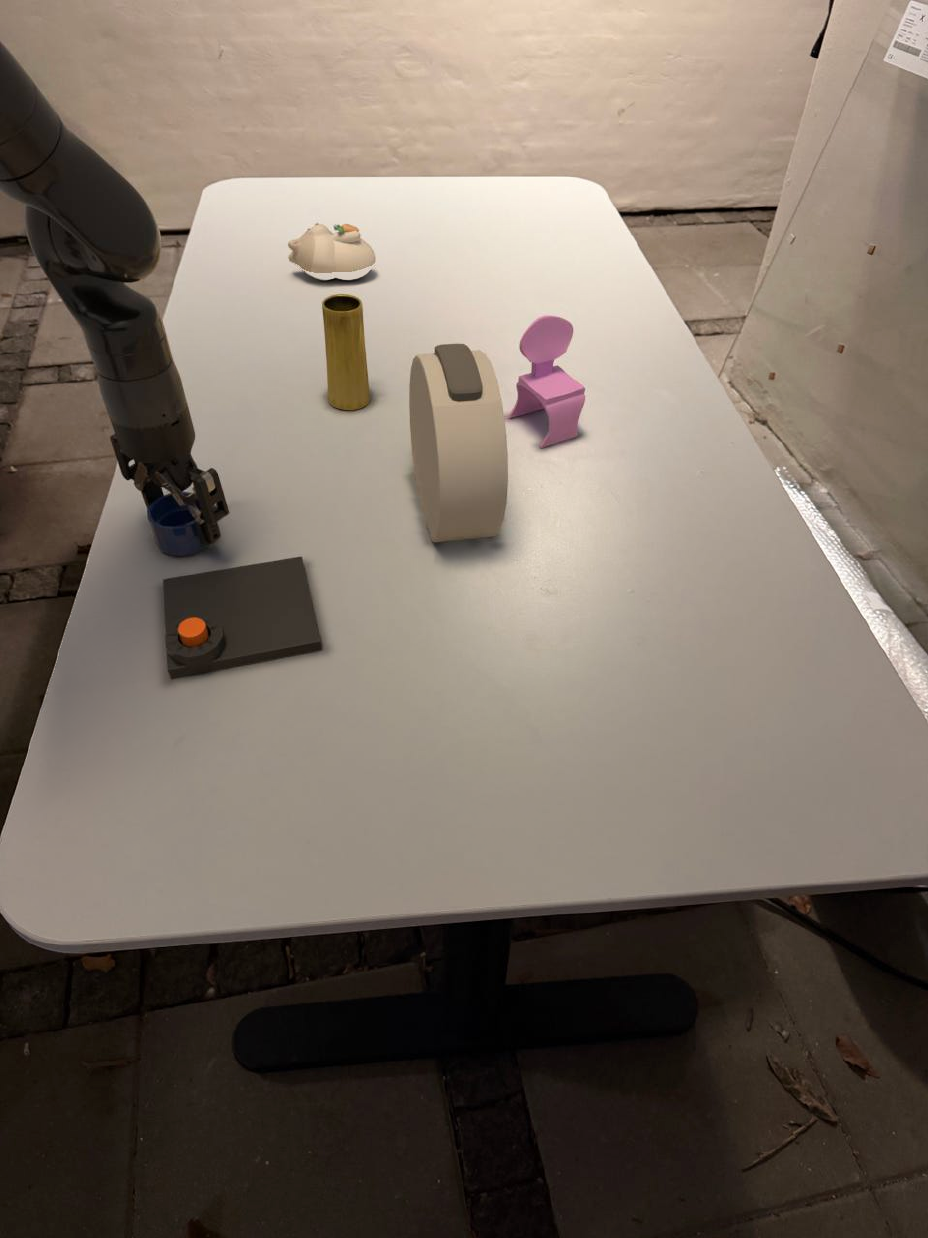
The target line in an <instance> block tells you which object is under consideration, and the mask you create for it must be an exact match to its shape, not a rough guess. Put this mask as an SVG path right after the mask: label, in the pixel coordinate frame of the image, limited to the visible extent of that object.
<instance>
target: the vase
mask: <svg viewBox="0 0 928 1238" xmlns="http://www.w3.org/2000/svg"><path fill="white" fill-rule="evenodd" d="M321 311H322V321H323V332H324V344H325V359H326V380H327V401H328V403H329V404H330V406H332V407H333V408H335V409H337V410H342V411H355V410H360V409H363V408H365V407H367V406H368V404H370V402H371V400H372V399H371V393H370V382H369V372H368V371H369V370H368V361H367V360H368V359H367V349H366V339H365V337H366V336H365V324H364V322H365V321H364V307H363V302H362V300H361V299H360V298H359V297H358V296H355V295H353V294H348V293H347V294H346V293H338V294H331V295H329V296H327V297H325V298H324V299H323V300H322V302H321Z"/></svg>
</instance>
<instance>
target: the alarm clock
mask: <svg viewBox="0 0 928 1238" xmlns="http://www.w3.org/2000/svg"><path fill="white" fill-rule="evenodd" d="M409 374H410V375H409V387H408V388H409V390H408V391H409V394H408V404H409V405H408V411H409V431H410V432H409V433H410V444H411V445H410V447H411V456H412V465H413V474H414V479H415V482H416V486H417V490H418V494H419V498H420V501H421V506H422V509H423V514H424V517H425V521H426V525H427V529H428V533H429V536H430V540H431V542H433V543H443V542H452V541H462V540H471V539H478V538H479V539H480V538H490V537H491V538H492V537H495V536H496V535H498V533H500V531H501V529H502V526H503V523H504V520H505V513H506V509H507V503H508V502H507V501H508V499H507V498H508V488H509V487H508V485H509V484H508V483H509V458H508V457H509V456H508V454H509V453H508V441H507V428H506V427H507V426H506V421H505V414H504V413H505V412H504V407H503V406H504V405H503V401H502V396H501V391H500V388H499V387H500V386H499V381H498V379H497V375H496V373H495V370H494V367H493V363H492V362H491V359H490V358H489V357H488V355H487V353H485V352H484V351H482V350H480V349H478V350H477V349H475V350H471V349H470V347H469V346H468V345H466V344H464V343H446V344H445V343H444V344H438V345H436V346H434V352H430V353H417V354H416V355H415V356H414V357H413V358H412V361H411V366H410V373H409Z"/></svg>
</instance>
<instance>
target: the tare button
mask: <svg viewBox="0 0 928 1238" xmlns="http://www.w3.org/2000/svg"><path fill="white" fill-rule="evenodd" d="M178 632H179V635H180V638H181V641H182V643H183V644H184V645H185V646H188V647H197V646H200V645H202V644H204V643H205V642H206V641H207V639H208V631H207V628H206V625H205V622H204V621H203V620H202V619H200V618H188V619H186V620H184V621H182V622H181V623H180V625H179V627H178Z"/></svg>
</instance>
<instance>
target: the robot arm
mask: <svg viewBox="0 0 928 1238" xmlns="http://www.w3.org/2000/svg"><path fill="white" fill-rule="evenodd" d="M0 193H2V194H3V195H4V196H5V197H8V198H10V199H11V200H14V201H15V202H18V203H20V204H23V205H24V226H25V232H26V236H27V240H28V243H29V246H30V248H31V251H32V253H33V255H34V257H35V259H36V261H37V262H38V265H39V266H40V268H41V270H42V272H43V273H44V275H45V276H46V278H47V279H48V281H49V282H50V284H51V286H52V287H53V289H54V290H55V292H56V293H57V295H58V297H59V298H60V299H61V302H62V303H63V304H64V306H65V307H66V309H67V311H68V312H69V313H70V315H71V316H72V318H73V319H74V320H75V321H76V324H78V326H79V327H80V329H81V331H82V335H83V338H84V341H85V343H86V347H87V349H88V353H89V356H90V358H91V360H92V363H93V366H94V369H95V373H96V377H97V382H98V387H99V391H100V395H101V398H102V401H103V403H104V406H105V410H106V411H107V415H108V417H109V420H110V424H111V426H112V429H113V432H114V433H113V434H112V435H111V436H110V437H109V439H110V442H111V445H112V449H113V453H114V455H115V458H116V461H117V464H118V467H119V470H120V474H121V476H122V477H123V478H124V479H125V480H126V481H130V480H132V481H133V486H134V487H135V488H136V490H137V491H139V492H140V494H141V496H142V499H143V501H144V504H145V508H146V511H147V510H148V508H149V506H150V505H151V503H152V502H154V501H155V500H156V499H158V498H159V497H161V496H164V495H165V494H164V491H163V489H165V490H167V492H169V493H171V494H172V496H173V497H174V498H175V500H176V501H177V503H178V504H179V505H180V506H181V507H186V508H187V509H188V510H189V512H190V513H191V515H192V516H193V517H194V519H195V524H196V527H197V531H198V534H199V537H200V541H201V544H203V545H204V546H206V547H205V548H209V547H210V546H212V545H213V544H215V543H216V542H218V541H219V539H221V537H222V536H221V535H222V534H221V531H220V526H219V522H220V521H221V520H222V519H224V518H225V517H227V516H229V514H230V510H229V506H228V502H227V499H226V496H225V491H224V488H223V486H222V483H221V482H222V481H221V479H220V476H219V473H218V471H217V469H214V467H210V468H209V469H207V470H203V469H201V468H198V465H197V463H196V461H195V459H194V457H193V456H192V449H193V446H194V444H195V441H196V431H195V427H194V423H193V420H192V415H191V412H190V407H189V404H188V401H187V397H186V394H185V389H184V386H183V381H182V378H181V375H180V372H179V370H178V368H177V365H176V363H175V361H174V358H173V354H172V350H171V347H170V343H169V339H168V336H167V335H168V334H167V332H166V328H165V325H164V321H163V318H162V315H161V312H160V309H159V308H158V306H157V305H156V303H155V302H154V301H153V300H152V299H151V298H149V297H148V296H146V295H145V294H144V293H141V292H140V291H137V290H135V289H134V288H132V287H130V286H129V285H127V284H128V283H129V284H130V283H131V284H132V283H137V282H141V281H143V280H145V279H147V278H148V277H149V276H150V275H151V274H153V272H154V271H155V270H156V268H157V267H158V264H159V262H160V260H161V255H162V237H161V232H160V228H159V225H158V222H157V220H156V217H155V215H154V212H153V211H152V208H150V206H149V204H148V202H147V201H146V200H145V198H144V197H143V196H142V195H141V194H140V192H139V191H138V190H137V188H135V187H134V186H133V184H132V183H130V182H129V181H128V180H127V179H126V178H125V176H124V175H122V174H121V173H120V172H119V171H118V170H117V169H116V168H114V167H113V166H112V165H111V164H110V163H109V162H108V161H107V160H105V158H103V157H102V156H101V155H100V154H99V153H98V152H97V151H96V150H95V149H94V148H92V147H91V146H90V145H88V144H87V143H86V142H85V141H84V140H82V139H81V138H80V137H78V135H76V134H75V133H74V132H73V131H71V130H70V128H69V127H68V126H67V125H66V123H65V122H64V120H63V119H62V118H61V116H60V115H59V114H58V112H57V111H56V109H55V108H54V107H53V105H52V104H51V103H50V101H49V100H48V98H47V97H46V96H45V95H44V93H43V92H42V91H41V89H40V88H39V87H38V85H37V84H36V83H35V81H34V80H33V79H32V78H31V76H30V75H29V74H28V72H27V71H26V70H25V68H24V67H23V66H22V65H21V63H19V61H18V60H17V59H16V57H15V56H14V55H13V54H12V53H11V51H10V50H9V49H8V48H7V47H6V45H5V44H4V42H2V41H1V40H0ZM132 461H133V462H134V463H132V464H131V465H130V462H132ZM192 485H193V487H192V488H191V489H192V492H191V494H190V495H188V496H187V497H186V496H184V495H183V494H182V492H185V491H186V490H188V489H189V488H190V487H191V486H192ZM197 499H198V501H199V504H200V507H201V510H200V511H199V509H198V508H197V506H196V505H195V503H194V502H195V500H197Z"/></svg>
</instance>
